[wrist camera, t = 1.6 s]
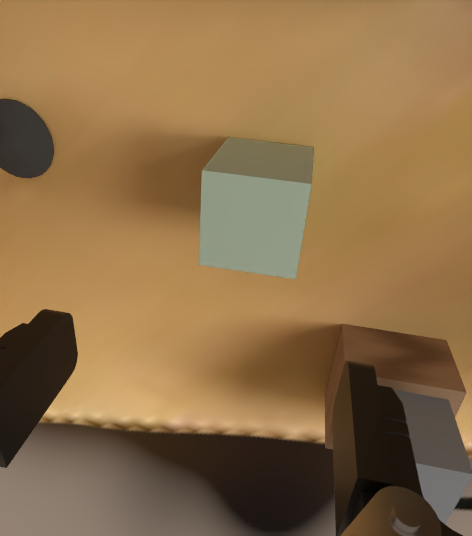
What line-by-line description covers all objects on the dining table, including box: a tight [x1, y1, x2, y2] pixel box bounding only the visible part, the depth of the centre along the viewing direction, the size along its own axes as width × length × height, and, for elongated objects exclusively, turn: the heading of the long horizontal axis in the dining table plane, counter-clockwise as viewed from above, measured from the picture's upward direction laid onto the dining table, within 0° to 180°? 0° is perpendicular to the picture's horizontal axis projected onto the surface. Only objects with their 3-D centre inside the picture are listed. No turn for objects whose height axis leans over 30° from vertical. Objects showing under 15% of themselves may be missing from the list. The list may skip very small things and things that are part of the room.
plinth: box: [325, 324, 466, 449], centre depth 30 cm, size 7×7×5 cm
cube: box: [394, 390, 472, 524], centre depth 26 cm, size 6×6×5 cm
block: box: [199, 137, 314, 279], centre depth 24 cm, size 5×5×6 cm
